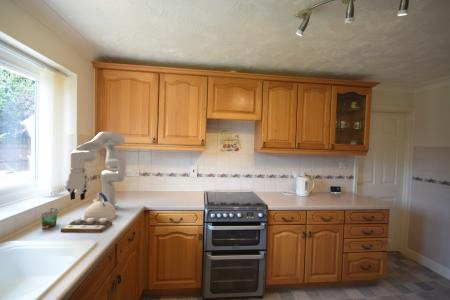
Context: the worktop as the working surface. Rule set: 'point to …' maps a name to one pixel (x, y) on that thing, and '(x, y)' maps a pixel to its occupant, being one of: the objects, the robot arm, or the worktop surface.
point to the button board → (83, 222)
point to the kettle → (100, 209)
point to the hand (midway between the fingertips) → (77, 199)
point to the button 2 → (102, 220)
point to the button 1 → (77, 219)
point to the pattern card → (83, 227)
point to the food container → (49, 218)
